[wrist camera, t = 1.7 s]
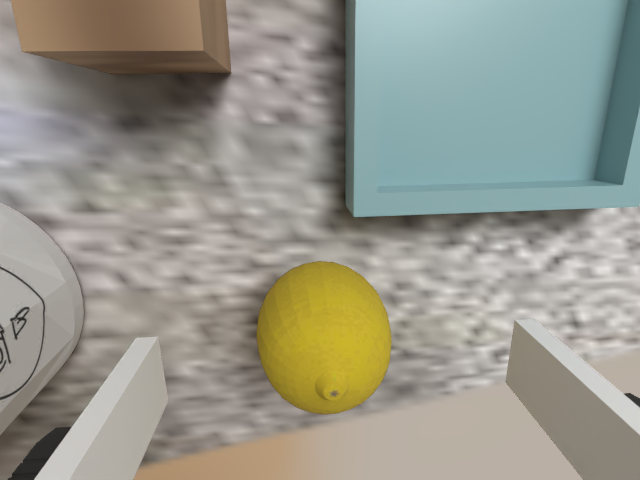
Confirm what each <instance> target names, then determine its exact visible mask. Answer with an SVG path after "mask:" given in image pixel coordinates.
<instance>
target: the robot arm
mask: <svg viewBox="0 0 640 480" xmlns="http://www.w3.org/2000/svg"><path fill="white" fill-rule="evenodd" d="M506 383H507V385H508V386H509V387H510V388H511V390H512V391H513V392H514V393H515V395H516V396H517V397H518V398H519V400H520V401H521V402H522V403H523V405H524V406H525V407H526V408H527V410H528V411H529V412H530V413H531V414H532V416H533V417H534V418H535V420H536V421H537V422H538V423H539V425H540V426H541V427H542V428H543V430H544V431H545V432H546V433H547V435H548V436H549V437H550V438H551V440H552V441H553V442H554V444H556V446H557V447H558V449H559V450H560V451H561V452H562V454H563V455H564V456H565V457H566V459H567V460H568V461H569V462H570V464H571V465H572V466H573V467H574V469H575V470H576V471H577V472H578V474H579V475H580V476H581V477H582V479H583V480H640V398H638V397H636V396H634V395H632V394H630V393H627V394H623V393H622V392H621V391H619V390H618V389H617V388H616V387H615V386H613V385H612V384H611V383H610V382H609V381H608V380H606V379H605V378H604V377H603V376H601V375H600V374H599V373H598V372H597V371H596V370H594V369H593V368H592V367H591V366H590V365H588V364H587V363H586V362H585V361H584V360H583V359H581V358H580V357H579V356H578V355H577V354H575V353H574V352H573V351H572V350H571V349H569V348H568V347H567V346H566V345H565V344H563V343H562V342H561V341H560V340H559V339H558V338H556V337H555V336H554V335H553V334H552V333H550V332H549V331H548V330H547V329H546V328H544V327H543V326H542V325H541V324H540V323H539V322H537V321H536V320H535V319H527V320H515V322H514V329H513V335H512V342H511V349H510V356H509V363H508V369H507V376H506ZM167 403H168V396H167V389H166V383H165V377H164V370H163V364H162V358H161V352H160V345H159V339H158V337H142V338H136V339H135V340H134V342H133V343H132V344H131V346H130V347H129V349H128V350H127V351H126V353H125V354H124V355H123V357H122V358H121V360H120V361H119V362H118V364H117V365H116V367H115V368H114V369H113V371H112V372H111V374H110V375H109V376H108V378H107V379H106V380H105V382H104V383H103V385H102V386H101V387H100V389H99V390H98V392H97V393H96V394H95V396H94V397H93V399H92V400H91V401H90V403H89V404H88V405H87V407H86V408H85V410H84V411H83V412H82V414H81V415H80V417H79V418H78V419H77V421H76V422H75V424H74V425H73V426H72V427H61V428H55V429H54V430H53V431H51V432H50V433H49V434H47V435H46V436H45V437H44V438H42V439H41V440H40V441H39V442H37V443H36V445H35V446H34V447H33V448H32V450H31V451H30V452H29V453H28V455H27V456H26V457H25V458H24V460H23V463H20V465H19V466H18V467H17V468H16V470H15V471H14V472H13V474H12V477H11V478H9V479H8V480H133V479H134V477H135V475H136V472H137V470H138V468H139V466H140V463H141V461H142V459H143V457H144V454H145V452H146V450H147V448H148V445H149V443H150V441H151V439H152V436H153V434H154V432H155V430H156V427H157V425H158V423H159V421H160V419H161V416H162V414H163V412H164V410H165V407H166V405H167Z"/></svg>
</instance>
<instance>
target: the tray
mask: <svg viewBox="0 0 640 480" xmlns="http://www.w3.org/2000/svg"><path fill="white" fill-rule="evenodd" d="M639 204H640V0H346V133H345V205H346V207H347V208H348V209H349V211H350V212H351V214H352V215H353V217H371V216H398V215H425V214H453V213H480V212H508V211H535V210H562V209H590V208H617V207H639Z"/></svg>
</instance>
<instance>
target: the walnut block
mask: <svg viewBox="0 0 640 480" xmlns="http://www.w3.org/2000/svg"><path fill="white" fill-rule="evenodd" d="M11 3H12V7H13V12H14V16H15V21H16V25H17V30H18V34H19V39H20V43H21V48H22V52H26V53H30V54H34V55H38V56H42V57H46V58H50V59H54V60H58V61H62V62H66V63H70V64H74V65H78V66H82V67H86V68H90V69H94V70H98V71H102V72H106V73H110V74H168V73H231V63H230V50H229V37H228V24H227V12H226V0H11Z"/></svg>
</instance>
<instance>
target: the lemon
mask: <svg viewBox="0 0 640 480" xmlns="http://www.w3.org/2000/svg"><path fill="white" fill-rule="evenodd" d="M257 344H258V350H259V356H260V360H261V364H262V366H263V368H264V371H265V373H266V375H267V377H268V379H269V381H270V383H271V385H272V386H273V387H274V389H275V390H276V391H277V392H278V393H279V394H280V395H281V396H282V398H284V399H285V400H286V401H288V402H289V403H291V404H292V405H294V406H295V407H297V408H299V409H302V410H305V411H308V412H311V413H319V414H334V413H340V412H343V411H347V410H350V409H352V408H354V407H355V406H357V405H359V404H361V403H363V402H364V401H365V400H366V399H367V398H369V397H370V396H371V395H372V394H373V393H374V392H375V390H376V389H377V387H378V386H379V385H380V383H381V382H382V380H383V378H384V376H385V373H386V371H387V368H388V365H389V362H390V353H391V331H390V325H389V320H388V315H387V312H386V309H385V307H384V305H383V303H382V301H381V299H380V297H379V295H378V293H377V292H376V290H375V289H374V288H373V287H372V286H371V285H370V284H369V283H368V282H367V280H366V279H365V278H364V277H363V276H361V275H360V274H358V273H357V272H355V271H353V270H352V269H350V268H349V267H347V266H343V265H340V264H337V263H334V262H322V261H318V262H312V263H306V264H303V265H300V266H298V267H296V268H293V269H291V270H290V271H288V272H287V273H286V274H284V275H283V276H282V277H280V278H279V279H278V280H277V282H276V283H275V284H274V285H273V287H272V288H271V289H270V290H269V292H268V293H267V295H266V298H265V300H264V302H263V304H262V307H261V309H260V312H259V318H258V325H257Z"/></svg>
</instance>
